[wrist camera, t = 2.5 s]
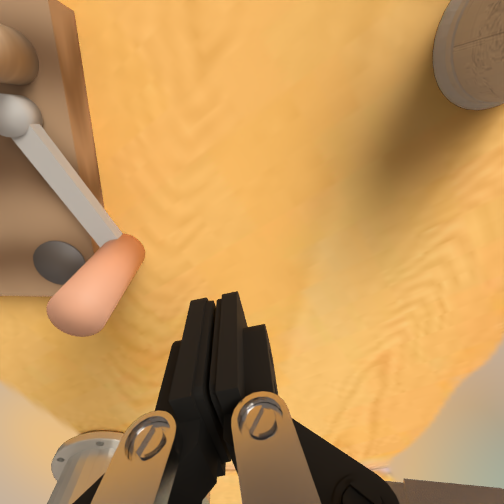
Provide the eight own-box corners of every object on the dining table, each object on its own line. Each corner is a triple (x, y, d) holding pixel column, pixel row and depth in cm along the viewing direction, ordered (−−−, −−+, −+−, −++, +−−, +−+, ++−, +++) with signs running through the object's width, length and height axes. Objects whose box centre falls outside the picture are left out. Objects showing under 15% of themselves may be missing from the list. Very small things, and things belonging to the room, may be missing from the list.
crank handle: (153, 256, 22) (118, 323, 15) (122, 272, 23) (73, 344, 16) (27, 84, 17) (-114, 65, 10) (-11, 109, 17) (-170, 106, 11)
